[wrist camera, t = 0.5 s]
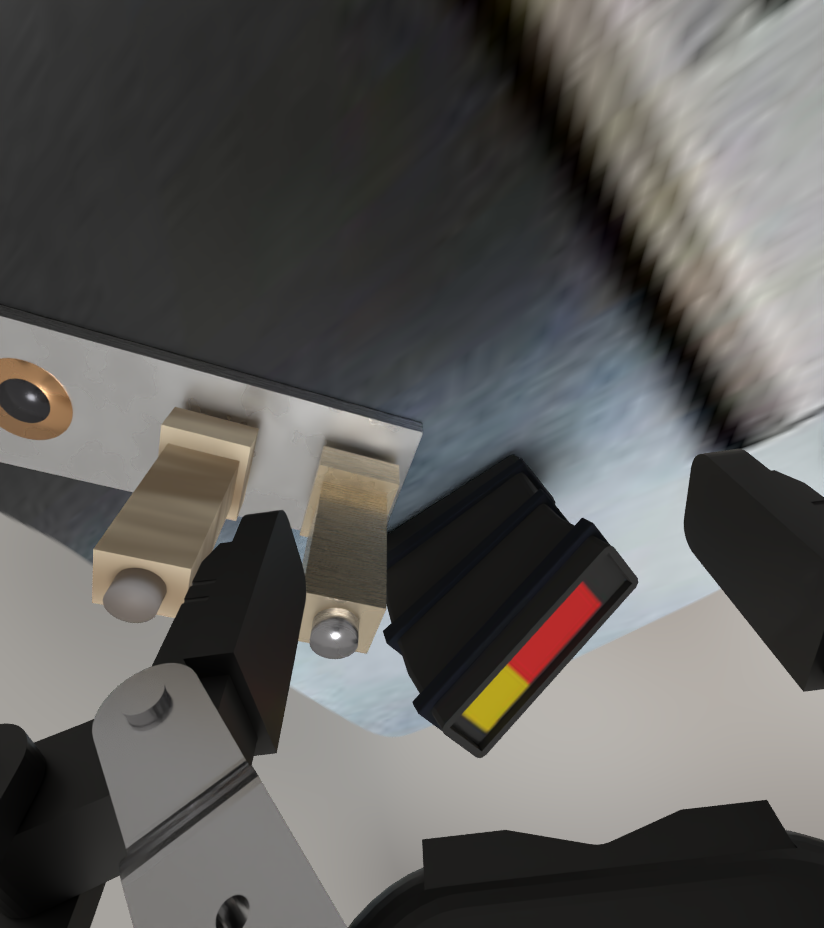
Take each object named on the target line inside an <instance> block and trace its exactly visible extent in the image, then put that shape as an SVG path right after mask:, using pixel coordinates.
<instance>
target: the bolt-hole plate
mask: <svg viewBox="0 0 824 928" xmlns="http://www.w3.org/2000/svg"><path fill="white" fill-rule="evenodd" d="M174 407H178V408H182V409H186V410H190V411H194V412H197V413H201V414H205V415H209V416H213V417H217V418H220V419H224V420H228V421H232V422H236V423H239V424H243V425H247V426H251V427H255V428H259V430H258V435H257V440H256V445H255V450H254V455H253V460H252V464H251V469H250V474H249V479H248V484H247V489H246V494H245V499H244V502H243V504H242V507H241V509H240V512H239V514H238V516H240V517H243V516H244V515H246V514H254V513H261V512H269V511H276V510H284V511H285V513H286V514H287V517H288V519H289V523H290V526H291V528H293V529H297V530H301V532H300V535H301V536H305V537H308V539H307V544H306V549H305V554H304V558H303V563H302V566H303V569H304V573H305V579H306V602H305V608H304V613H303V618H302V623H301V628H300V634H299V639H298V641H301V642H307V643H310V647H311V649H312V650H313V651H314V652H315V653H316V654H318V655H319V656H322V657H324V658H329V659H341V658H345V657H347V656H350V655H351V654H353V653H354V652H360V653H366V654H367V652H368V650H369V647H370V645H371V643H372V641H373V638H374V636H375V634H376V631H377V629H378V627H379V625H380V622H381V620H382V618H383V615H384V613H385V611H386V578H387V523H388V521H389V518H390V516H391V513H392V511H393V508H394V506H395V503H396V500H397V498H398V495H399V493H400V490H401V488H402V485H403V483H404V480H405V477H406V475H407V472H408V470H409V467H410V465H411V462H412V460H413V457H414V454H415V452H416V449H417V447H418V444H419V442H420V439H421V436H422V434H423V430H422V423H420V422H416V421H413V420H409V419H405V418H402V417H398V416H395V415H391V414H388V413H384V412H381V411H377V410H373V409H370V408H366V407H363V406H359V405H356V404H352V403H348V402H345V401H341V400H338V399H334V398H331V397H327V396H324V395H320V394H316V393H313V392H309V391H306V390H302V389H299V388H295V387H291V386H288V385H284V384H281V383H277V382H274V381H270V380H266V379H263V378H259V377H256V376H252V375H249V374H245V373H242V372H238V371H234V370H231V369H227V368H224V367H220V366H217V365H213V364H209V363H206V362H202V361H199V360H195V359H192V358H188V357H185V356H181V355H177V354H174V353H170V352H167V351H163V350H160V349H156V348H152V347H149V346H145V345H142V344H138V343H135V342H131V341H128V340H124V339H120V338H117V337H113V336H110V335H106V334H103V333H99V332H95V331H92V330H88V329H85V328H81V327H78V326H74V325H70V324H67V323H63V322H60V321H56V320H53V319H49V318H46V317H42V316H38V315H35V314H31V313H28V312H24V311H21V310H17V309H13V308H10V307H6V306H3V305H0V462H3V463H7V464H11V465H16V466H20V467H25V468H29V469H33V470H38V471H42V472H47V473H51V474H55V475H60V476H64V477H69V478H73V479H77V480H82V481H86V482H91V483H95V484H99V485H104V486H108V487H113V488H117V489H121V490H126V491H130V492H134V491H135V489H136V488H137V487H138V485H139V484H140V482H141V481H142V479H143V478H144V477H145V475H146V474H147V472H148V471H149V469H150V468H151V467H152V465H153V464H154V462H155V461H156V460H157V458H158V453H159V443H160V433H161V424H162V423H163V422H164V420H165V419H166V418H167V416H168V415H169V414H170V413H171V411H172V410H173V409H174Z"/></svg>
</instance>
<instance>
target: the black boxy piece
mask: <svg viewBox="0 0 824 928" xmlns="http://www.w3.org/2000/svg"><path fill="white" fill-rule="evenodd" d="M637 584H638V578H637V577H636V575H635V574H634V573H633V571H632V570H631V569H630V568H629V566H628V565H627V564H626V562H625V561H624V560H623V559H622V557H621V556H620V555H619V553H618V552H617V551H616V549H615V548H614V547H613V546H611V545H610V544H609V543H608V542H607V540H606V539H605V538H604V536H603V535H602V534H601V533H600V531H599V530H598V529H597V527H596V526H595V525H594V523H592V522H590V521H588V520H586V519H584V518H581V519H580V521H579V522H578V523H577V524H576V525H575V526H574V525H573V524H571V523H569V522H568V520H567V519H566V518H565V517H564V515H563V514H562V513H561V512H560V510H559V509H558V508H557V507H556V505H555V501H554V499H553V497H552V496H551V494H550V493H549V492H548V491H547V489H546V488H545V487H544V486H543V484H542V483H541V482H540V481H539V479H538V478H537V477H536V476H535V474H534V473H533V472H532V471H531V469H530V468H529V467H528V466H527V464H526V463H525V462H524V461H523V459H522V458H520V459H519V458H518V457H517V456H515V455H511V456H509V457H507V458H506V459H504V460H503V461H501V462H500V463H498V464H497V465H495V466H493V467H492V468H490V469H489V470H487V471H486V472H484V473H483V474H481V475H479V476H478V477H476V478H475V479H473V480H472V481H470V482H469V483H467V484H465V485H464V486H462V487H461V488H459V489H458V490H456V491H455V492H453V493H451V494H450V495H448V496H447V497H445V498H444V499H442V500H441V501H439V502H437V503H436V504H434V505H433V506H431V507H430V508H428V509H427V510H425V511H423V512H422V513H420V514H419V515H417V516H416V517H414V518H413V519H411V520H409V521H408V522H406V523H405V524H403V525H402V526H400V527H398V528H397V529H395V530H394V531H392V532H391V533H389V534H388V535H387V578H386V604H387V608H388V612H389V615H390V619H391V624H390V625H389V626H388V627H387V628H386V629H385V630H384V631H383V633H384V636H385V639H386V643H387V644H388V645H389V646H391V647H392V648H393V649H395V650H396V651H397V652H398V653H400V654H401V655H402V656H403V659H404V662H405V665H406V669H407V672H408V674H409V676H410V678H411V680H412V681H413V683H414V685H415V686H416V688H417V690H418V691H419V693H420V694H419V695H418V696H417V697H416V699H415V700H414V701H413V705H414V707H415V708H416V710H417V712H418V714H420V715H421V716H422V717H424V718H425V719H426V720H428V721H429V722H430V723H432V724H433V725H435V726H436V727H437V728H439V729H440V730H441V731H443V733H444V734H445V735H446V736H448V737H449V738H451V739H452V740H453V741H455V742H456V743H457V744H459V745H460V746H461V747H463V748H464V749H466V750H467V751H468V752H470V753H471V754H472V755H474V756H475V757H477V758H482V757H483V756H485V755H486V754H487V753H488V752H489V751H490V750H491V749H492V748H493V746H494V745H495V744H496V743H497V742H498V741H499V740H500V739H501V737H502V736H503V735H504V734H505V733H506V732H507V731H508V730H509V729H510V727H511V726H512V725H513V724H514V723H515V722H516V721H517V719H519V717H520V716H521V715H522V714H523V713H524V712H525V711H526V710H527V708H528V707H529V706H530V705H531V704H532V702H534V701H535V699H536V698H537V697H538V696H539V695H540V694H541V693H542V692H543V690H544V689H545V688H546V687H547V686H548V685H549V684H550V683H551V682H552V681H553V679H554V678H555V677H556V676H557V675H558V674H559V673H560V671H561V670H562V669H563V668H564V667H565V666H566V665H567V664H568V663H569V662H570V660H571V659H572V658H573V657H574V656H575V655H576V654H577V653H578V651H579V650H580V649H581V648H582V647H583V646H584V645H585V644H586V643H587V641H588V640H589V639H590V638H591V637H592V636H593V635H594V634H595V632H596V631H597V630H598V629H599V628H600V627H601V626H602V625H603V624H604V622H605V621H606V620H607V619H608V618H609V617H610V616H611V615H612V613H613V612H614V611H615V610H616V609H617V608H618V607H619V606H620V605H621V603H622V602H623V601H624V600H625V599H626V598H627V597H628V596H629V594H630V593H631V592H632V591H633V590H634V589H635V588H636V586H637Z"/></svg>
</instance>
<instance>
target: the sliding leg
mask: <svg viewBox="0 0 824 928" xmlns="http://www.w3.org/2000/svg"><path fill="white" fill-rule="evenodd" d="M258 430H259V428H255V427H251V426H247V425H243V424H239V423H236V422H232V421H228V420H224V419H220V418H217V417H213V416H209V415H205V414H201V413H197V412H194V411H190V410H186V409H182V408H178V407H174V409H173V410H172V411H171V413H170V414H169V415H168V416H167V418H166V419H165V420H164V422H163V423H162V424H161V433H160V443H159V453H158V458H157V460H156V461H155V462H154V464H153V465H152V467H151V468H150V469H149V471H148V472H147V474H146V475H145V477H144V478H143V479H142V481H141V482H140V484H139V485H138V487H137V488H136V489H135V491H134V492H133V494H132V495H131V496H130V498H129V499H128V501H127V502H126V504H125V505H124V506H123V508H122V509H121V511H120V512H119V514H118V515H117V516H116V518H115V519H114V521H113V522H112V523H111V525H110V526H109V528H108V529H107V531H106V532H105V533H104V535H103V536H102V538H101V539H100V541H99V542H98V543H97V545H96V546H95V548H94V549H93V592H92V603H97V604H103V605H104V607H105V609H106V610H107V611H108V612H109V613H110V614H111V615H113V616H114V617H116V618H118V619H120V620H122V621H126V622H130V623H142V622H147V621H149V620H151V619H152V618H153V617H155V615H161V616H167V617H173V618H175V617H176V615H177V612H178V610H179V608H180V606H181V604H182V603H184V598H185V596H186V594H187V591H188V589H189V587H190V586H192V581H193V579H194V577H195V575H196V573H197V571H198V568H199V566H200V564H201V562H202V561H203V560H204V559H205V558H206V557H207V556H208V555H209V554H210V553H211V552H212V550H213V548H214V546H215V543H216V541H217V538H218V536H219V534H220V531H221V529H222V527H223V524H224V522H225V519H230V520H234V521H236V520H237V517H238V514H239V512H240V509H241V507H242V504H243V502H244V499H245V494H246V489H247V484H248V479H249V474H250V469H251V464H252V460H253V455H254V450H255V445H256V440H257V435H258Z"/></svg>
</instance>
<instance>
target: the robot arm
mask: <svg viewBox="0 0 824 928" xmlns="http://www.w3.org/2000/svg"><path fill="white" fill-rule="evenodd" d="M684 532H685V536H686V540H687V543H688V545H689V547H690V549H691V551H692V552H693V554H694V555H695V556H696V557H697V559H698V560H699V561H700V562H701V564H702V565H703V566H704V567H705V569H706V570H707V571H708V572H709V574H710V575H711V576H712V577H713V579H714V580H715V581H716V582H717V584H718V585H719V586H720V587H721V589H722V590H723V591H724V592H725V594H726V595H727V596H728V597H729V599H730V600H731V601H732V603H733V604H734V605H735V606H736V608H737V609H738V610H739V611H740V613H741V614H742V615H743V616H744V618H745V619H746V620H747V621H748V623H749V624H750V625H751V626H752V628H753V629H754V630H755V631H756V632H757V634H758V635H759V636H760V638H761V639H762V640H763V641H764V643H765V644H766V645H767V646H768V648H769V649H770V650H771V651H772V653H773V654H774V655H775V656H776V658H777V659H778V660H779V661H780V663H781V664H782V665H783V666H784V668H785V669H786V670H787V672H788V673H789V674H790V675H791V676H792V678H793V679H794V680H795V682H796V683H797V684H798V685H799V687H800V688H801V689H802V690H803V691H812V690H820V689H824V497H823V496H821V495H820V494H819V493H817V492H816V491H815V490H813V489H812V488H811V487H809V486H808V485H807V484H805V483H803V482H801V481H799V480H796V479H794V478H792V477H789V476H787V475H784V474H782V473H780V472H777V471H775V470H773V471H770V470H769V469H768V468H767V467H765V466H764V465H763V464H762V463H760V462H759V461H758V460H756V459H755V458H754V457H753V456H751V455H750V454H749V453H748V452H746V451H745V450H742V449H734V450H727V451H719V452H712V453H704V454H699V455H697V456H696V457H695V458H694V460H693V462H692V466H691V473H690V480H689V487H688V494H687V501H686V509H685V516H684ZM305 602H306V579H305V573H304V569H303V566H302V562H301V559H300V556H299V552H298V549H297V546H296V542H295V539H294V536H293V532H292V529H291V526H290V523H289V519H288V517H287V514H286V513H285V511H284V510H276V511H269V512H261V513H254V514H246V515H244V516H243V518H242V520H241V522H240V524H239V527H238V529H237V531H236V534H235V536H234V539H233V541H232V542H227V543H220V544H219V545H218V546H217V547H216V548H215V549H214V550H213V551H212V552H211V553H210V554H209V555H208V556H207V557H206V558H205V559H204V560H203V561H202V562H201V564H200V566H199V568H198V571H197V573H196V575H195V577H194V579H193V581H192V586H190V587H189V589H188V591H187V594H186V596H185V598H184V603H182V604H181V606H180V608H179V610H178V612H177V615H176V617H175V619H174V621H173V623H172V625H171V627H170V629H169V632H168V633H167V636H166V638H165V640H164V642H163V644H162V646H161V648H160V650H159V652H158V655H157V657H156V659H155V661H154V663H153V665H152V667H149V668H147V669H144V670H142V671H140V672H139V673H136V674H134V675H133V676H131V677H130V678H128V679H127V680H125V681H124V682H123V683H121V684H120V685H119V686H118V687H117V688H116V689H115V690H113V691H112V692H111V693H110V695H109V696H108V697H107V698H106V699H105V700H104V702H103V703H102V705H101V706H100V708H99V709H98V712H97V714H96V716H95V719H93V720H90V721H88V722H86V723H83V724H81V725H78V726H75V727H73V728H71V729H68V730H65V731H63V732H60V733H58V734H55V735H53V736H50V737H47V738H45V739H42V740H40V741H37V742H35V743H33V741H32V740H31V739H30V738H29V737H28V735H27V734H26V733H25V731H24V730H23V729H22V728H21V727H19V726H17V725H14V724H0V928H90V926H91V923H92V921H93V917H94V915H95V912H96V909H97V906H98V903H99V900H100V898H101V895H102V892H103V889H104V886H105V883H106V882H107V881H109V880H111V879H113V878H115V877H117V876H120V878H121V883H122V886H123V890H124V894H125V898H126V901H127V904H128V908H129V912H130V916H131V920H132V923H133V927H134V928H347V926H346V924H345V923H344V921H343V919H342V918H341V916H340V914H339V912H338V911H337V909H336V907H335V906H334V904H333V902H332V901H331V899H330V897H329V895H328V894H327V892H326V891H325V889H324V887H323V885H322V883H321V882H320V880H319V879H318V877H317V875H316V873H315V872H314V870H313V868H312V866H311V865H310V863H309V861H308V860H307V858H306V856H305V855H304V853H303V851H302V850H301V848H300V846H299V845H298V843H297V841H296V839H295V837H294V836H293V834H292V832H291V831H290V829H289V827H288V826H287V824H286V822H285V820H284V819H283V817H282V815H281V814H280V812H279V810H278V808H277V807H276V805H275V803H274V802H273V800H272V798H271V797H270V795H269V793H268V791H267V790H266V788H265V786H264V785H263V783H262V781H261V780H260V778H259V776H258V775H257V773H256V771H255V770H254V768H253V767H252V761H253V756H257V755H265V754H273V753H277V748H278V743H279V738H280V733H281V728H282V722H283V717H284V711H285V706H286V701H287V696H288V691H289V686H290V681H291V675H292V670H293V665H294V660H295V655H296V649H297V644H298V639H299V634H300V628H301V623H302V618H303V613H304V608H305ZM422 845H423V865H424V867H423V868H421V869H419V870H417V871H415V872H412V873H410V874H408V875H407V876H405V877H403V878H402V879H400V880H399V881H397V882H395V883H394V884H392V885H391V886H389V887H388V888H387V889H386V890H384V891H383V892H382V893H381V894H380V895H378V896H377V897H376V898H375V899H374V900H372V901H371V902H370V903H369V904H368V905H367V907H366V908H364V910H363V911H362V912H361V913H360V914H359V915H358V916H357V917H356V918H355V919H354V920H353V922H352V923H351V924H350V926H349V927H348V928H824V841H823V840H821V839H818V838H814V837H811V836H807V835H804V834H800V833H796V832H792V831H787V830H785V829H784V827H783V826H782V824H781V822H780V821H779V819H778V818H777V816H776V815H775V812H774V811H773V809H772V807H771V806H770V804H769V803H768V801H767V800H762V801H753V802H744V803H736V804H727V805H718V806H710V807H701V808H692V809H683V810H679V811H677V812H675V813H673V814H671V815H668V816H666V817H664V818H662V819H660V820H657V821H655V822H653V823H651V824H649V825H646V826H644V827H642V828H640V829H638V830H635V831H633V832H631V833H629V834H627V835H624V836H622V837H620V838H618V839H615V840H613V841H611V842H609V843H606V844H600V845H593V844H586V843H580V842H574V841H568V840H562V839H556V838H550V837H544V836H538V835H533V834H527V833H520V832H515V831H509V830H501V831H493V832H484V833H475V834H466V835H458V836H449V837H441V838H431V839H423V840H422Z"/></svg>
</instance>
